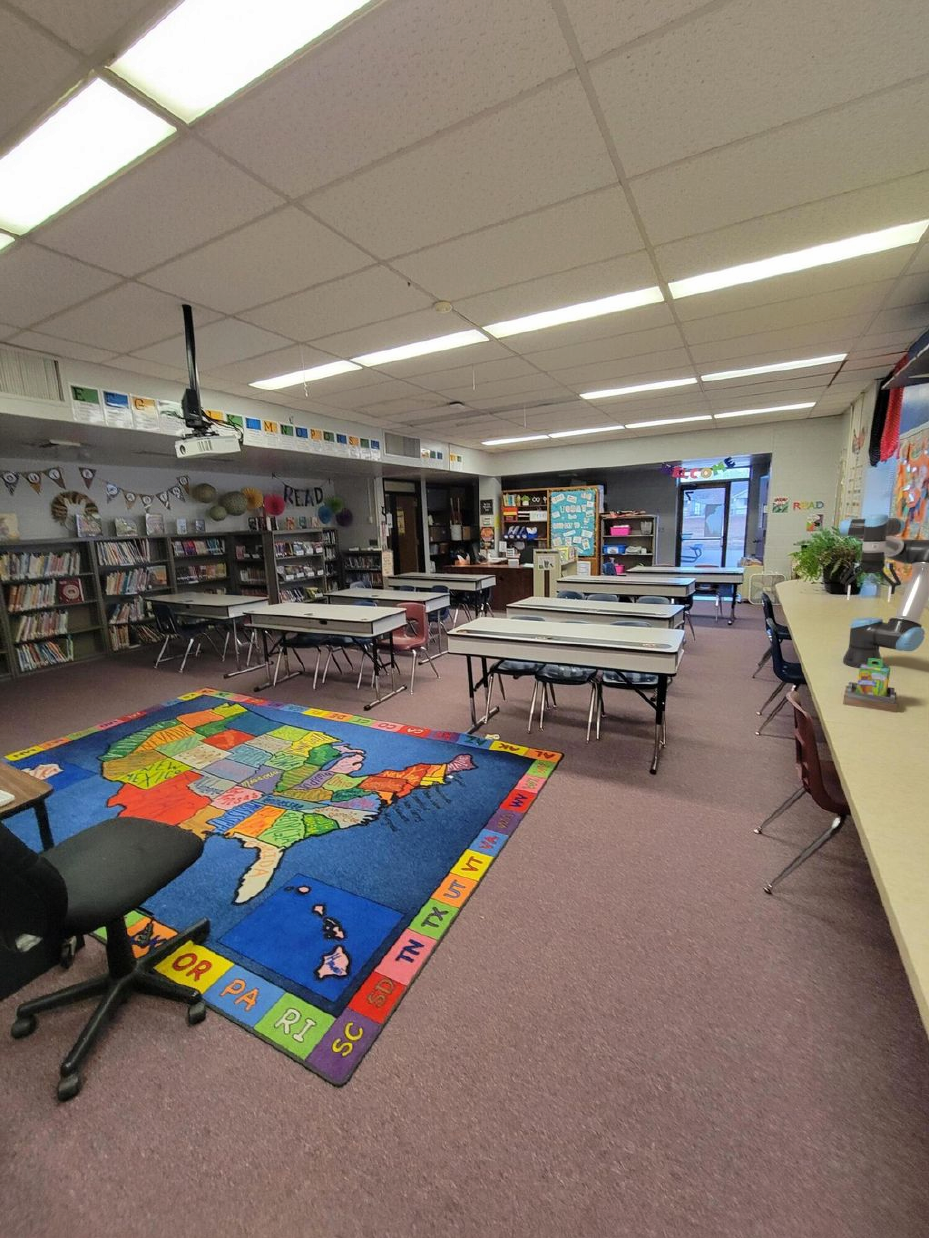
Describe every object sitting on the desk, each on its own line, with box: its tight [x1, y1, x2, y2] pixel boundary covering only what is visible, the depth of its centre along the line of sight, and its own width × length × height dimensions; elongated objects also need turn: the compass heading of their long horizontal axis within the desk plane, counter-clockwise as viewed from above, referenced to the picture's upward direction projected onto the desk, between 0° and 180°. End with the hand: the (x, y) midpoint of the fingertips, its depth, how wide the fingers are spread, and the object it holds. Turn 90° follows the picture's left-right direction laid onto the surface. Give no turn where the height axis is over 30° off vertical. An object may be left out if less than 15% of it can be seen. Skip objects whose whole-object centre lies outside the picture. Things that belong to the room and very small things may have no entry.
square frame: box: [842, 681, 898, 713], centre depth 196 cm, size 16×16×5 cm
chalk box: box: [856, 658, 891, 697], centre depth 195 cm, size 9×9×15 cm
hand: (868, 600), depth 212 cm, fingers open, 13 cm apart
